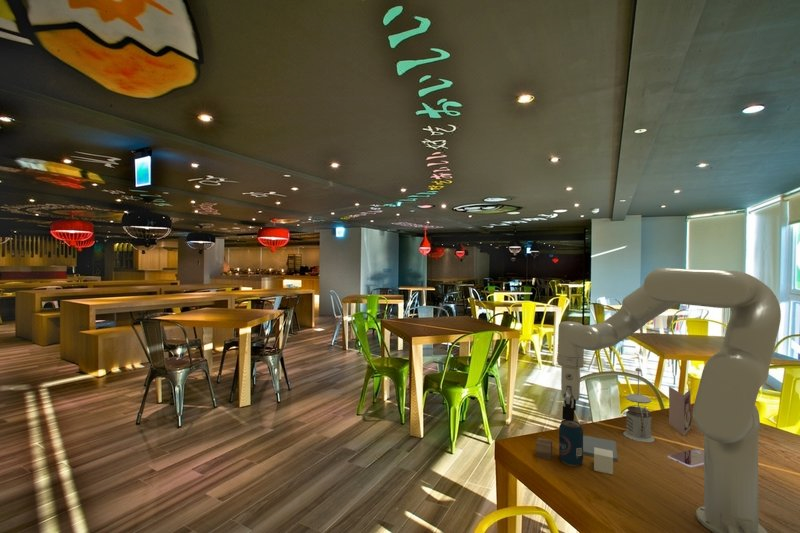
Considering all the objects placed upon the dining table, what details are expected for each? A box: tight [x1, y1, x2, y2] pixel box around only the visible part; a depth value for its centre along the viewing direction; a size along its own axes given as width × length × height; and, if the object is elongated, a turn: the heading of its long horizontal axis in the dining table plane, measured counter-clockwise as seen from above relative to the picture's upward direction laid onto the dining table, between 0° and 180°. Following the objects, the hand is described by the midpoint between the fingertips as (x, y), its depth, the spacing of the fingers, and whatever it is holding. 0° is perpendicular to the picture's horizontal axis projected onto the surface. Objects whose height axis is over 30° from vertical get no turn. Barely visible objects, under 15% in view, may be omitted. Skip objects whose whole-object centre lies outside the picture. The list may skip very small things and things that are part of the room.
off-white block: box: [593, 447, 614, 475], centre depth 114 cm, size 5×5×5 cm
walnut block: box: [535, 437, 553, 461], centre depth 122 cm, size 4×4×4 cm
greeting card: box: [668, 386, 692, 436], centre depth 144 cm, size 11×7×15 cm, turn 132°
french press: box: [623, 367, 656, 443], centre depth 137 cm, size 10×12×25 cm
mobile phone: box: [667, 448, 704, 468], centre depth 121 cm, size 8×1×15 cm
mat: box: [583, 434, 618, 462], centre depth 128 cm, size 14×14×1 cm
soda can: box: [558, 419, 584, 467], centre depth 118 cm, size 7×7×12 cm
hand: (569, 414), depth 119 cm, fingers open, 9 cm apart
